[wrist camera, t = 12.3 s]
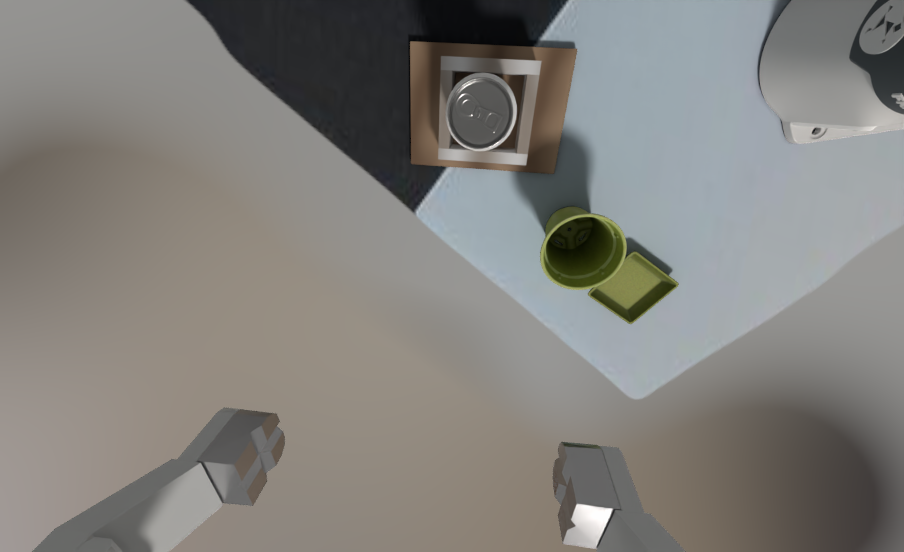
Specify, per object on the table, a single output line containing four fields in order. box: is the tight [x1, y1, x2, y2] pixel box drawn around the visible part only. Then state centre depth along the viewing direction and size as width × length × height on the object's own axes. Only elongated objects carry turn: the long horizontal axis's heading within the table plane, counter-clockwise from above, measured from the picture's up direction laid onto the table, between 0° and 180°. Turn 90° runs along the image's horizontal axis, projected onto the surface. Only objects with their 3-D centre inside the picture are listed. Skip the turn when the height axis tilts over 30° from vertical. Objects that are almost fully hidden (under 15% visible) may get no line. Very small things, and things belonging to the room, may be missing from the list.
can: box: [446, 73, 517, 151], centre depth 35 cm, size 6×6×12 cm
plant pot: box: [540, 206, 627, 290], centre depth 43 cm, size 9×9×9 cm
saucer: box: [588, 251, 679, 324], centre depth 49 cm, size 9×9×2 cm
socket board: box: [410, 41, 577, 174], centre depth 39 cm, size 18×13×6 cm
